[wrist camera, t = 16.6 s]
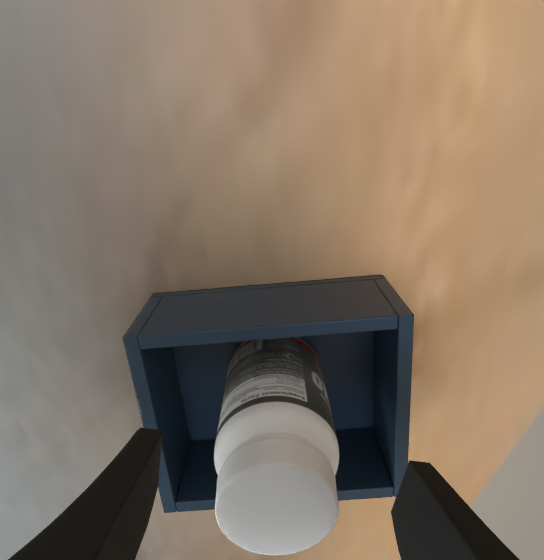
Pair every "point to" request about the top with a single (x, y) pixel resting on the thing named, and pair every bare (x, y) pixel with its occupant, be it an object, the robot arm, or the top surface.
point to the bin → (272, 325)
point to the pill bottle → (276, 449)
